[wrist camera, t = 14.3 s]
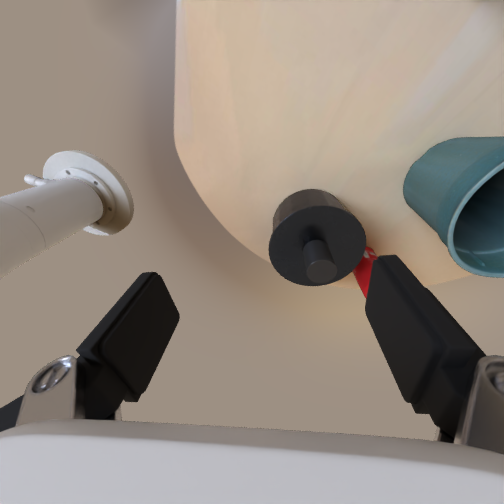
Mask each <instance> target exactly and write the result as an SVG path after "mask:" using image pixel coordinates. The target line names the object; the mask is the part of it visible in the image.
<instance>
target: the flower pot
mask: <svg viewBox="0 0 504 504" xmlns="http://www.w3.org/2000/svg"><path fill="white" fill-rule="evenodd" d="M403 193H404V198H405V200H406V203H407V204H408V205H409V206H410V207H411V208H412V209H413V210H414V211H415V212H416V213H417V214H418V215H419V216H420V217H421V218H422V219H423V220H424V221H425V222H426V223H427V224H428V225H429V226H431V227H432V228H433V229H434V230H435V231H436V232H437V233H438V235H439V237H440V239H441V241H442V242H443V243H444V244H445V245H446V246H447V248H448V251H449V253H450V255H451V257H452V258H453V260H454V261H455V262H456V263H457V264H458V265H459V266H460V267H461V268H463V269H464V270H466V271H468V272H470V273H473V274H476V275H480V276H486V277H496V278H504V137H464V138H455V139H450V140H447V141H444V142H442V143H439V144H437V145H435V146H434V147H432V148H430V149H429V150H428V151H427V152H426V153H425V154H424V155H423V156H422V157H421V158H420V159H418V160H417V161H416V162H415V163H414V164H413V165H412V167H411V168H410V170H409V171H408V174H407V176H406V178H405V181H404V186H403Z"/></svg>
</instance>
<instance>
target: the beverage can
mask: <svg viewBox="0 0 504 504" xmlns="http://www.w3.org/2000/svg"><path fill="white" fill-rule="evenodd" d="M377 258H378V257H377V255H376V254H375V253H374V251H373V250H372V249H371V248H369V247H366V248H365V252H364V255H363V257H362V259H361V261H360V263H359V264H358V265H357V267H356V268H355V269H354V270H353V271H352V272H353V274H354V276H355V278H356V280H357V282H358V284H359V286H360V288H361V290H362V292H363V294H364V296H365V298H366V299H367V293H368V287H369V281H370V275H371V269H372V263H373V261H374V260H377Z"/></svg>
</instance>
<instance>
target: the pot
mask: <svg viewBox="0 0 504 504" xmlns="http://www.w3.org/2000/svg"><path fill="white" fill-rule="evenodd" d="M320 204H324V205H332V206H337V207H339V208H342V209H344V207H343V206H342V205H341V204H340V203H339V201H338V200H337V199H336V198H335V197H334V196H333V195H331V194H329V193H327V192H325V191H322V190H317V189H307V190H302V191H299V192H296V193H294V194H292V195H290V196H289V197H287V198H286V199H285V200H284V201H283V202H282V203H281V204H280V205H279V207H278V208H277V210H276V212H275V215H274V217H273V231H274V229H275V227H276V226H277V225H278V224H279V222H280V221H281V220H282V219H283V218H285V217H286V216H287V215H289V214H290V213H292V212H294V211H295V210H298V209H300V208H303V207H306V206H311V205H320ZM344 210H345V209H344Z"/></svg>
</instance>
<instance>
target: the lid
mask: <svg viewBox="0 0 504 504" xmlns="http://www.w3.org/2000/svg"><path fill="white" fill-rule="evenodd" d="M365 248H366V236H365V232H364V229H363V227H362V225H361V224H360V222H359V221H358V220H357V219H356V218H355V217H354V216H353V215H352V214H351V213H349V212H348V211H346V210H344V209H342V208H339V207H337V206H332V205H324V204H320V205H311V206H306V207H303V208H300V209H298V210H295V211H294V212H292V213H290V214H289V215H287V216H286V217H285V218H283V219H282V220H281V221H280V222H279V224H278V225H277V226H276V227H275V229H274V231H273V233H272V235H271V238H270V242H269V256H270V260H271V263H272V265H273V266H274V268H275V269H276V270H277V272H278V273H279V274H280V275H281V276H283V277H284V278H285V279H287V280H289V281H291V282H293V283H296V284H299V285H305V286H320V285H326V284H330V283H333V282H336V281H338V280H340V279H342V278H344V277H345V276H347V275H348V274H349V273H351V272H352V271H353V270H354V269H355V268H356V267H357V265H358V264H359V263H360V261H361V259H362V257H363V255H364V252H365Z"/></svg>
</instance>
